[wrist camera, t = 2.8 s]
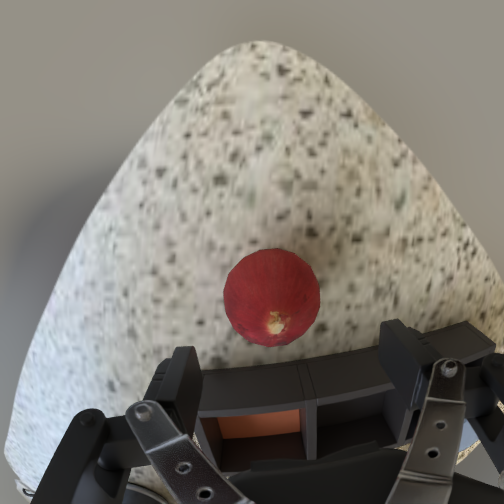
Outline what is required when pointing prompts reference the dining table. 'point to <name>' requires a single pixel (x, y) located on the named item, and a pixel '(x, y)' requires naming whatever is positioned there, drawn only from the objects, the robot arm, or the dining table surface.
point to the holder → (314, 404)
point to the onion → (271, 297)
